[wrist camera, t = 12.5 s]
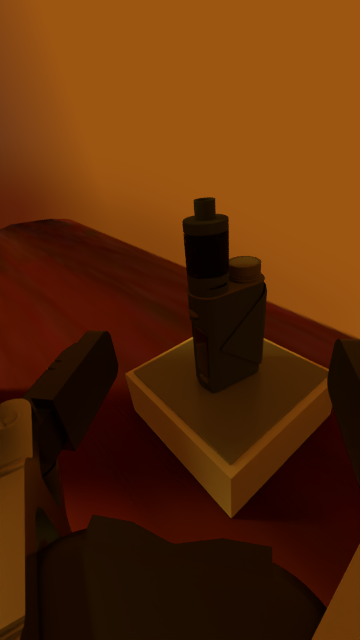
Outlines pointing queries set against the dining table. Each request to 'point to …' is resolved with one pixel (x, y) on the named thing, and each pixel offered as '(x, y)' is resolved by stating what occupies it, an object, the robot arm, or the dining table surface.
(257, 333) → the vaping device
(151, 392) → the riser
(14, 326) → the dining table surface
